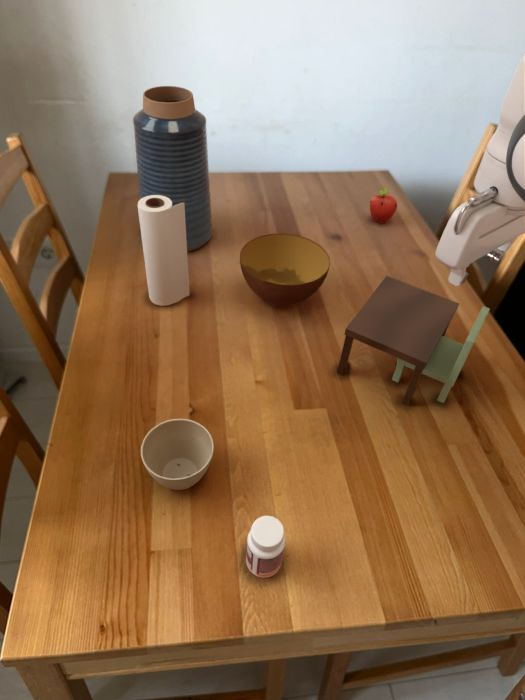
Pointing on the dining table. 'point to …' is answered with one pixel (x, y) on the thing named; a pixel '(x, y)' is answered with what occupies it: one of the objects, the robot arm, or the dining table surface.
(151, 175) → the vase
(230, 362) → the dining table surface
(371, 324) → the toy table
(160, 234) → the paper towel roll
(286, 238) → the bowl
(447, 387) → the chair
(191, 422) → the flower pot
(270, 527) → the pill bottle
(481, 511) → the dining table surface
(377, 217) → the red round fruit
